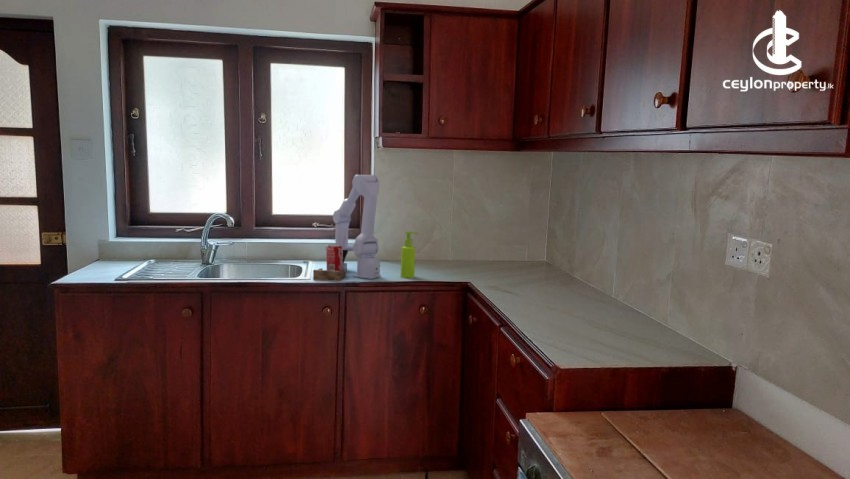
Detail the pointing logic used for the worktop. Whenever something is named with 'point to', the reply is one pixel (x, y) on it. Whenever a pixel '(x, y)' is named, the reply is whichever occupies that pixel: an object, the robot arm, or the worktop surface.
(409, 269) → the soap dispenser
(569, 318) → the worktop surface
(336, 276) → the walnut tray
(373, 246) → the robot arm
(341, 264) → the soda can
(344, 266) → the pusher block
